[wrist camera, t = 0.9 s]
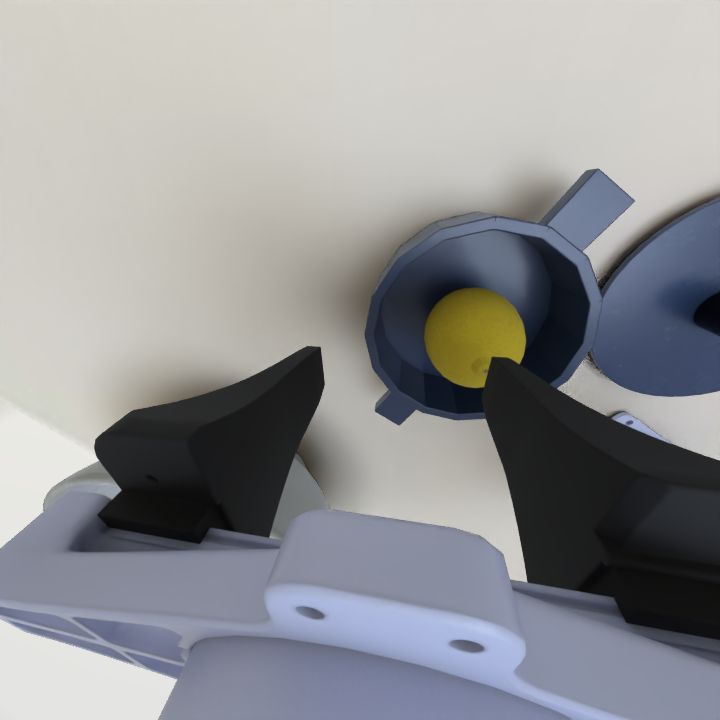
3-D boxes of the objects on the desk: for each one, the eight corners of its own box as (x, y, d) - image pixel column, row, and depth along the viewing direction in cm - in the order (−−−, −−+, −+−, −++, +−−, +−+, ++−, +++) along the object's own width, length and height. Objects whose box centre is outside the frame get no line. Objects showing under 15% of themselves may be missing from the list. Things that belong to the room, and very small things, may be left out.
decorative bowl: (287, 541, 44) (249, 647, 33) (132, 448, 37) (26, 544, 27) (413, 482, 31) (414, 622, 21) (213, 325, 24) (70, 416, 14)
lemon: (412, 334, 21) (413, 398, 15) (438, 264, 19) (453, 303, 12) (480, 353, 21) (512, 425, 15) (516, 286, 18) (578, 337, 12)
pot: (647, 252, 17) (724, 269, 12) (445, 421, 26) (451, 463, 22) (485, 114, 15) (514, 82, 11) (330, 351, 24) (314, 383, 20)
